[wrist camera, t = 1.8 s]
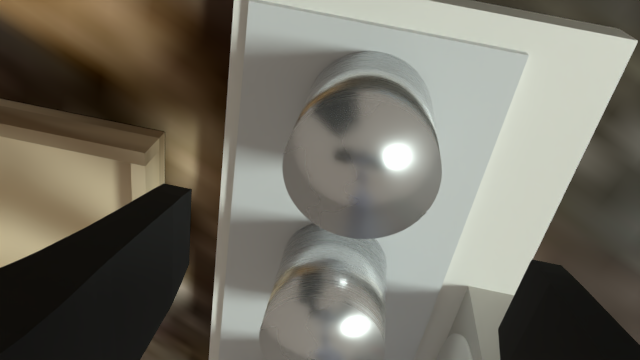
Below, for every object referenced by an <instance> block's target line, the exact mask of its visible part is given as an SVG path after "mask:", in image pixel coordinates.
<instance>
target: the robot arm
mask: <svg viewBox="0 0 640 360" xmlns="http://www.w3.org/2000/svg"><path fill="white" fill-rule="evenodd" d="M191 191H192V189H187V188H183V187H178V186H173V185H168V184H162V185H160V186H158V187H156V188H154V189H152V190H151V191H149V192H147V193H145V194H144V195H142V196H140V197H139V198H137V199H135V200H133V201H132V202H130V203H128V204H126V205H125V206H123V207H121V208H120V209H118V210H116V211H114V212H112V213H111V214H109V215H107V216H105V217H103V218H102V219H100V220H98V221H96V222H94V223H93V224H91V225H89V226H87V227H85V228H83V229H81V230H79V231H77V232H75V233H73V234H71V235H69V236H67V237H65V238H63V239H61V240H59V241H57V242H55V243H53V244H51V245H49V246H47V247H45V248H44V249H42V250H40V251H37V252H35V253H33V254H31V255H29V256H26V257H24V258H22V259H20V260H17V261H15V262H13V263H10V264H8V265H6V266H3V267H1V268H0V360H140V359H141V357H142V355H143V353H144V352H145V350H146V348H147V347H148V345H149V343H150V342H151V340H152V338H153V336H154V335H155V333H156V331H157V330H158V328H159V326H160V324H161V323H162V321H163V319H164V317H165V316H166V314H167V312H168V310H169V309H170V307H171V305H172V303H173V301H174V299H175V296H176V294H177V292H178V289H179V287H180V285H181V282H182V280H183V277H184V275H185V272H186V270H187V268H188V265H189V249H190V220H191ZM498 336H499V349H500V360H640V345H639V344H638V343H637V342H636V341H635V340H634V339H633V338H632V337H631V336H630V335H629V334H628V333H627V332H626V331H625V330H624V329H623V328H622V327H621V326H620V325H619V323H618V322H617V321H616V320H615V319H614V318H613V317H612V316H611V315H610V314H609V313H608V312H607V311H606V310H605V309H604V308H603V307H602V306H601V305H600V304H599V303H598V302H597V301H596V300H595V298H594V297H593V296H592V295H591V294H590V293H589V292H588V291H587V290H586V289H585V288H584V287H583V286H582V285H581V284H580V283H579V282H578V281H577V280H576V279H575V278H574V277H573V276H572V275H571V274H570V273H569V272H568V271H567V270H565V269H564V268H563V267H562V266H561V265H556V264H551V263H546V262H541V261H536V260H531V262H530V264H529V266H528V268H527V270H526V272H525V274H524V276H523V278H522V280H521V282H520V285H519V287H518V289H517V291H516V293H515V295H514V297H513V299H512V301H511V303H510V305H509V307H508V309H507V311H506V314H505V316H504V318H503V320H502V322H501V324H500V326H499V328H498Z"/></svg>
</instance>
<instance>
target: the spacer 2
mask: <svg viewBox="0 0 640 360" xmlns="http://www.w3.org/2000/svg"><path fill="white" fill-rule="evenodd" d="M386 274H387V262H386V257H385V253H384V251H383V249H382V247H381V246H380V244H379V243H378V242H377V240H376V239H354V238H348V237H343V236H340V235H336V234H333V233H331V232H328V231H326V230H324V229H322V228H320V227H319V226H317V225H316V224H314V223H312V224H309V225H307V226H305V227H303V228H301V229H300V230H298V231H297V232H296V233H294V234H293V236H292V237H291V238H290V239H289V241H288V242H287V244H286V246H285V249H284V252H283V256H282V259H281V262H280V265H279V269H278V272H277V275H276V278H275V282H274V285H273V288H272V292H271V295H270V298H269V301H268V305H267V308H266V311H265V315H264V318H263V321H262V324H261V328H260V332H259V343H260V347H261V350H262V352H263V354H264V356H265V358H266V359H267V360H383V359H384V355H385V321H386Z"/></svg>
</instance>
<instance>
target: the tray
mask: <svg viewBox="0 0 640 360" xmlns="http://www.w3.org/2000/svg"><path fill="white" fill-rule="evenodd" d="M162 184H165V132H162V131H157V130H152V129H147V128H142V127H137V126H133V125H128V124H123V123H118V122H113V121H108V120H103V119H98V118H93V117H88V116H83V115H79V114H74V113H69V112H64V111H59V110H54V109H49V108H44V107H39V106H34V105H29V104H25V103H20V102H15V101H10V100H5V99H0V268H1V267H3V266H6V265H8V264H10V263H13V262H15V261H17V260H20V259H22V258H24V257H26V256H29V255H31V254H33V253H35V252H37V251H40V250H42V249H44V248H45V247H47V246H49V245H51V244H53V243H55V242H57V241H59V240H61V239H63V238H65V237H67V236H69V235H71V234H73V233H75V232H77V231H79V230H81V229H83V228H85V227H87V226H89V225H91V224H93V223H94V222H96V221H98V220H100V219H102V218H103V217H105V216H107V215H109V214H111V213H112V212H114V211H116V210H118V209H120V208H121V207H123V206H125V205H126V204H128V203H130V202H132V201H133V200H135V199H137V198H139V197H140V196H142V195H144V194H145V193H147V192H149V191H151V190H152V189H154V188H156V187H158V186H160V185H162Z"/></svg>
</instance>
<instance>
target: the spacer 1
mask: <svg viewBox="0 0 640 360" xmlns="http://www.w3.org/2000/svg"><path fill="white" fill-rule="evenodd" d="M282 170H283V179H284V183H285V186H286V189H287V192H288V194H289V196H290V198H291V200H292V201H293V203H294V204H295V206H296V207H297V208H298V210H299V211H300V212H301V213H302V214H303V215H304V216H305V217H306V218H308V219H309V220H310V221H311V222H313V223H314V224H316V225H317V226H319V227H320V228H322V229H324V230H326V231H328V232H331V233H333V234H336V235H340V236H343V237H348V238H354V239H375V238H381V237H386V236H389V235H393V234H396V233H398V232H400V231H403V230H405V229H406V228H408V227H410V226H411V225H413V224H414V223H416V222H417V221H418V220H419V219H420V218H421V217H422V216H423V215H425V213H426V212H427V211H428V210H429V208H430V207H431V206H432V204H433V202H434V201H435V199H436V196H437V194H438V191H439V188H440V184H441V178H442V164H441V157H440V151H439V144H438V138H437V132H436V126H435V119H434V113H433V107H432V101H431V96H430V93H429V90H428V87H427V85H426V84H425V82H424V80H423V78H422V77H421V76H420V74H419V73H418V72H417V71H416V70H415V69H414V68H413V67H412V66H411V65H409V64H408V63H407V62H405V61H404V60H402V59H400V58H398V57H396V56H393V55H391V54H387V53H384V52H377V51H361V52H355V53H351V54H348V55H345V56H343V57H340V58H339V59H337V60H335V61H333V62H332V63H331V64H329V65H328V66H327V67H326V68H325V69H324V70H323V71H322V72H321V73H320V74H319V75H318V77H317V78H316V80H315V81H314V83H313V85H312V87H311V89H310V92H309V94H308V96H307V99H306V101H305V103H304V105H303V108H302V110H301V112H300V115H299V117H298V119H297V121H296V124H295V126H294V128H293V131H292V133H291V135H290V137H289V140H288V142H287V145H286V148H285V151H284V155H283V164H282Z"/></svg>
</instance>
